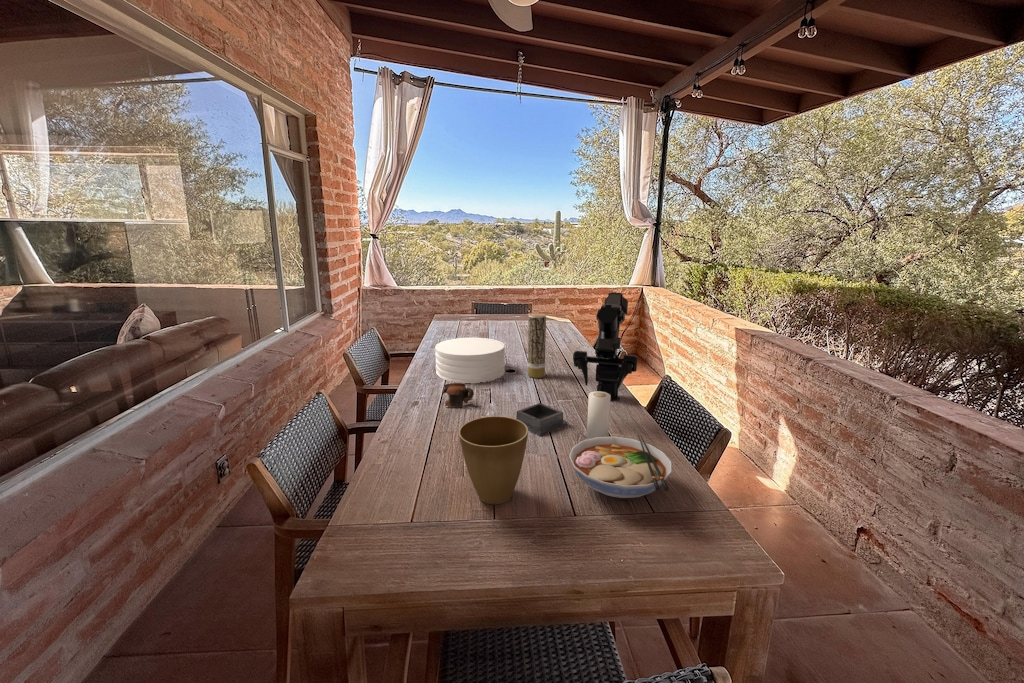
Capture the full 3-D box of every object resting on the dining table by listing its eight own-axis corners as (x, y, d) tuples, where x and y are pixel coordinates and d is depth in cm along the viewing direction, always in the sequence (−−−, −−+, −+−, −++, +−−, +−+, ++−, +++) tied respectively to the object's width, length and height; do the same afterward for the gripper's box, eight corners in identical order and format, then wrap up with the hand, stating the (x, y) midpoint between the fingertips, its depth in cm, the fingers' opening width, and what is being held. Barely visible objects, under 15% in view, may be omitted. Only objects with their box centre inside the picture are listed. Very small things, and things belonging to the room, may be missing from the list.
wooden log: (543, 379, 179) (544, 316, 173) (526, 378, 181) (527, 316, 175) (545, 373, 186) (547, 313, 180) (529, 372, 187) (530, 312, 181)
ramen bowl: (567, 458, 119) (568, 429, 117) (658, 463, 116) (660, 433, 114) (568, 517, 94) (569, 481, 92) (682, 525, 92) (686, 489, 90)
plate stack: (428, 367, 195) (427, 341, 192) (489, 359, 206) (489, 335, 203) (448, 388, 170) (447, 358, 167) (515, 378, 181) (516, 350, 179)
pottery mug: (436, 408, 152) (436, 384, 154) (451, 411, 160) (451, 388, 162) (468, 404, 147) (467, 379, 150) (482, 407, 156) (481, 383, 158)
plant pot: (491, 471, 112) (490, 410, 108) (540, 492, 103) (541, 427, 99) (446, 498, 101) (444, 431, 97) (497, 525, 92) (496, 453, 88)
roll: (601, 432, 134) (603, 389, 130) (612, 441, 128) (614, 397, 125) (583, 435, 132) (584, 392, 128) (593, 444, 126) (595, 399, 123)
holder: (539, 412, 147) (539, 401, 146) (567, 424, 138) (568, 412, 137) (511, 423, 139) (511, 411, 138) (539, 436, 131) (540, 423, 130)
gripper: (575, 324, 137) (567, 370, 129) (639, 328, 132) (635, 376, 124) (577, 344, 146) (571, 387, 138) (638, 348, 141) (634, 394, 133)
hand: (602, 386), depth 133 cm, fingers open, 9 cm apart
